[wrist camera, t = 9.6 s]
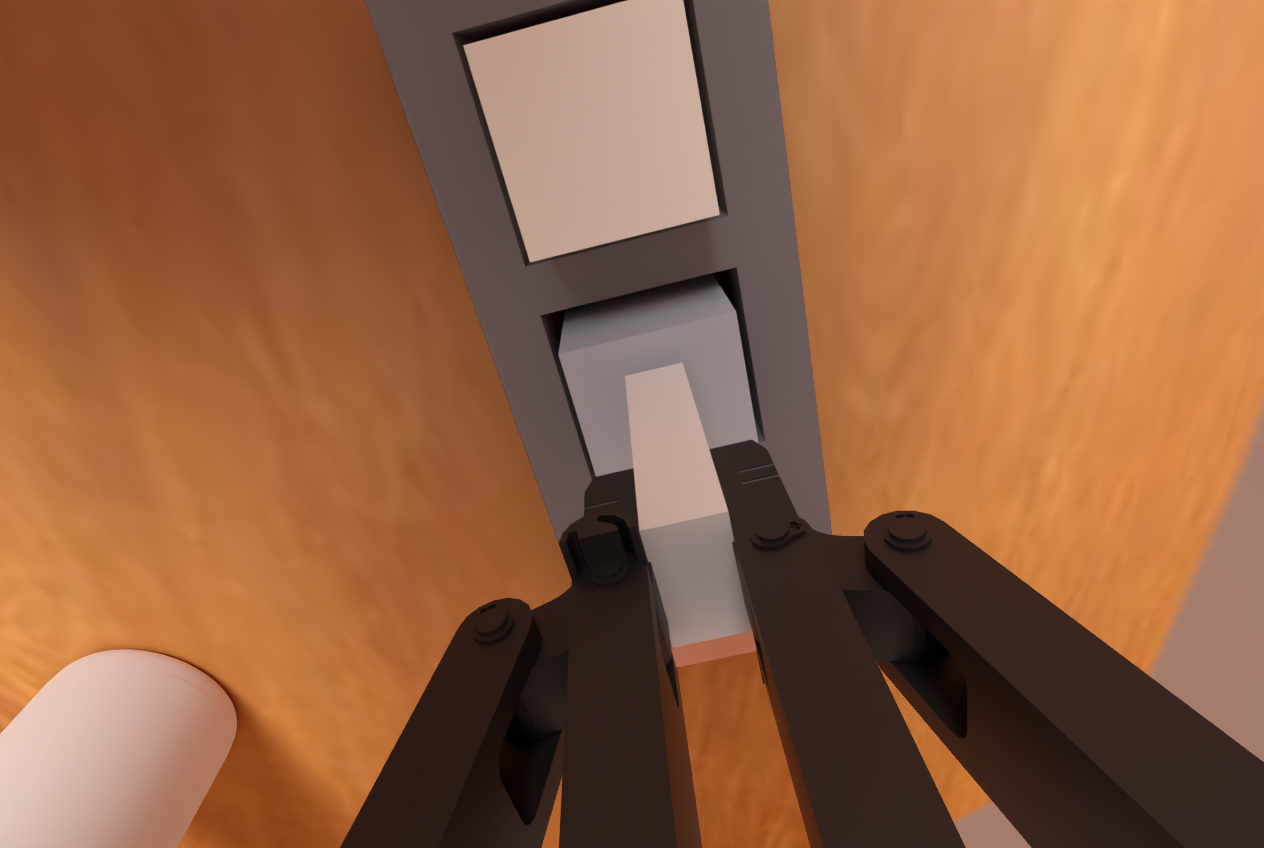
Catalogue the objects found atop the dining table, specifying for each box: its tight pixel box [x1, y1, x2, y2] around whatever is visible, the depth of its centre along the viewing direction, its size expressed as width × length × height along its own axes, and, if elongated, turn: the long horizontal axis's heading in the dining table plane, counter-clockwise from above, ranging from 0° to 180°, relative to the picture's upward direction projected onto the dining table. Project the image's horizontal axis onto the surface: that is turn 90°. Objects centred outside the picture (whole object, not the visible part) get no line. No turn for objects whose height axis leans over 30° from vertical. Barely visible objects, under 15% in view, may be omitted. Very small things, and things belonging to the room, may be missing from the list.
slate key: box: [558, 273, 759, 476], centre depth 20 cm, size 5×5×4 cm
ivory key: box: [463, 0, 720, 262], centre depth 16 cm, size 5×5×4 cm
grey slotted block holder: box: [364, 0, 832, 542], centre depth 21 cm, size 9×22×4 cm, turn 13°
